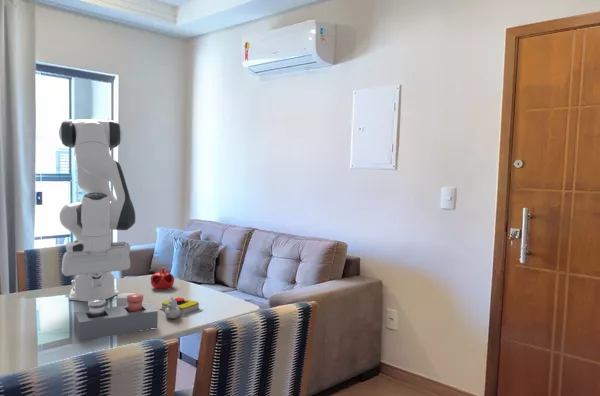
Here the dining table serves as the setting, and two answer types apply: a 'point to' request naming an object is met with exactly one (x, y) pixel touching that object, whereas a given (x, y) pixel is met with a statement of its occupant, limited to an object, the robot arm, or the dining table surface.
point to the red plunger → (134, 302)
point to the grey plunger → (96, 307)
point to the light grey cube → (122, 299)
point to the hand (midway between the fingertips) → (97, 286)
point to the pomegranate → (162, 280)
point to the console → (114, 322)
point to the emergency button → (185, 306)
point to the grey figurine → (172, 309)
